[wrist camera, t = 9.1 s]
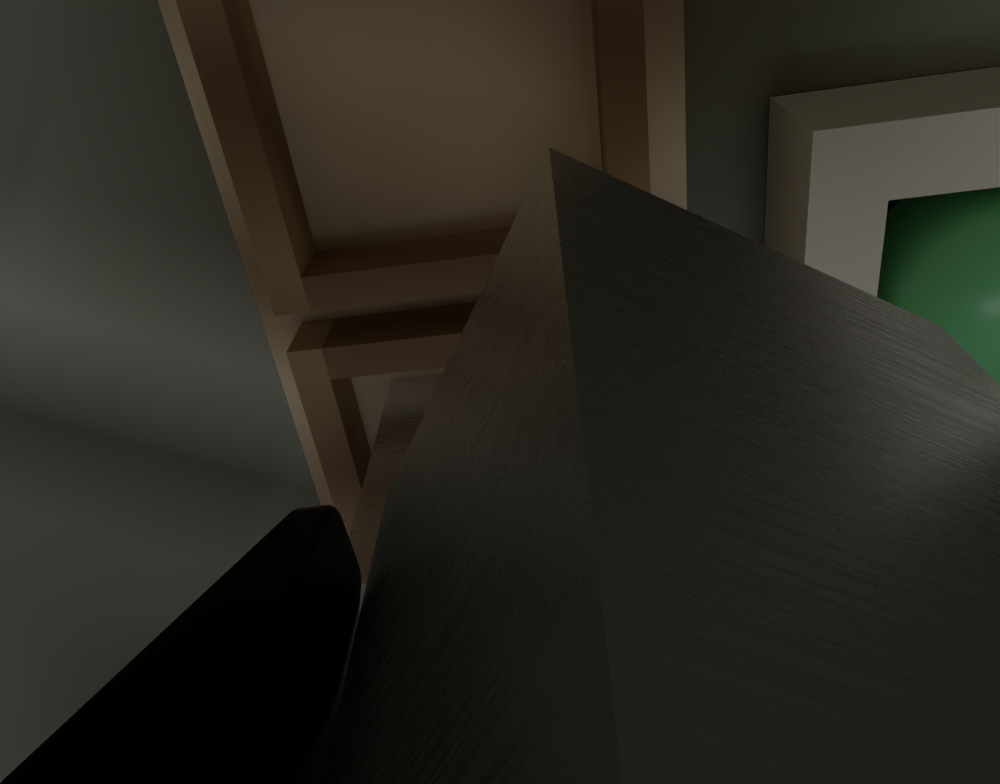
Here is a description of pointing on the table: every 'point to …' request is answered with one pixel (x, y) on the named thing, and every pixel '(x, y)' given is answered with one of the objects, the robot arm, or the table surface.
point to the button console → (873, 163)
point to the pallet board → (407, 169)
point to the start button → (948, 267)
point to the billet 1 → (388, 460)
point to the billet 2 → (682, 525)
